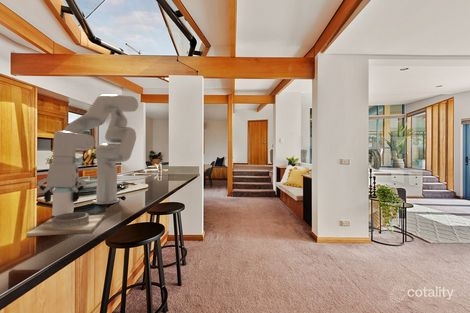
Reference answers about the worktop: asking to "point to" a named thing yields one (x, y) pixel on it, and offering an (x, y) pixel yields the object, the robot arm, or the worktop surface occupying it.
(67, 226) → the base
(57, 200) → the can
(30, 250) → the worktop surface
